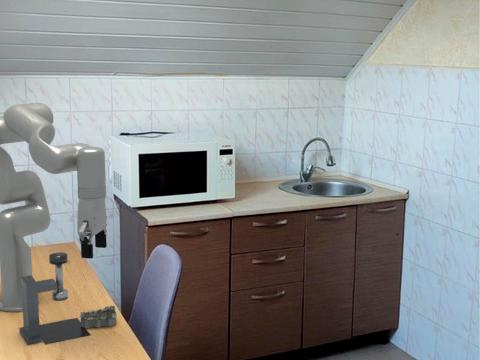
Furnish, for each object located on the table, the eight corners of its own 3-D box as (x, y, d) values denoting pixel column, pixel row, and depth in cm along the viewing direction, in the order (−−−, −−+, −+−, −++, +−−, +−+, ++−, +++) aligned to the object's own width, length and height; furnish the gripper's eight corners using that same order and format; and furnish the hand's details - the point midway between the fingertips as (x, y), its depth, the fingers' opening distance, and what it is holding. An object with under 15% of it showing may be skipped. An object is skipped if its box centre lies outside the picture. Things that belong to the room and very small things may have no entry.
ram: (49, 296, 196) (47, 253, 194) (66, 293, 199) (64, 251, 196) (53, 302, 192) (51, 258, 189) (71, 299, 194) (69, 256, 192)
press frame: (18, 329, 198) (14, 273, 195) (77, 318, 206) (74, 264, 203) (28, 348, 186) (25, 289, 183) (90, 336, 195) (88, 279, 191)
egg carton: (116, 317, 207) (116, 304, 206) (116, 327, 200) (116, 314, 199) (81, 319, 206) (80, 306, 205) (79, 329, 198) (78, 316, 197)
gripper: (91, 185, 193) (93, 242, 197) (65, 198, 177) (68, 261, 180) (116, 186, 192) (118, 244, 196) (92, 200, 175) (95, 263, 179)
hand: (94, 252), depth 188 cm, fingers open, 9 cm apart
